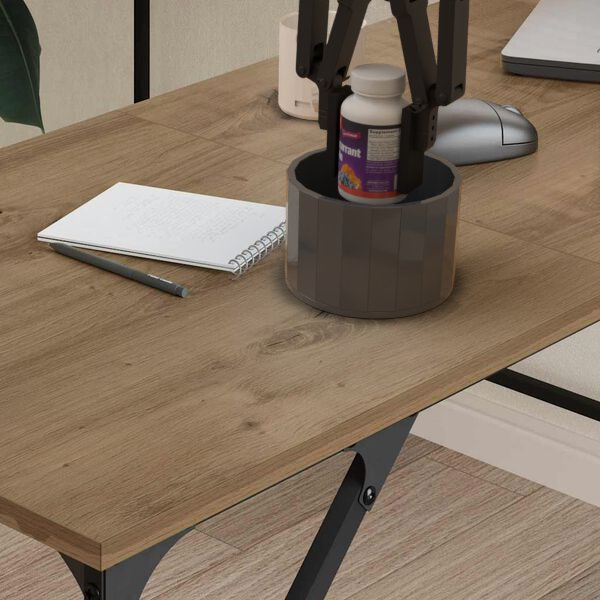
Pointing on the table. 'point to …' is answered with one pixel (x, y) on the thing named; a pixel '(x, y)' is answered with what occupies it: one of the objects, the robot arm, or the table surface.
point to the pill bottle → (372, 135)
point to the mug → (301, 91)
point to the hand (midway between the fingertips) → (373, 179)
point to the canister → (371, 242)
